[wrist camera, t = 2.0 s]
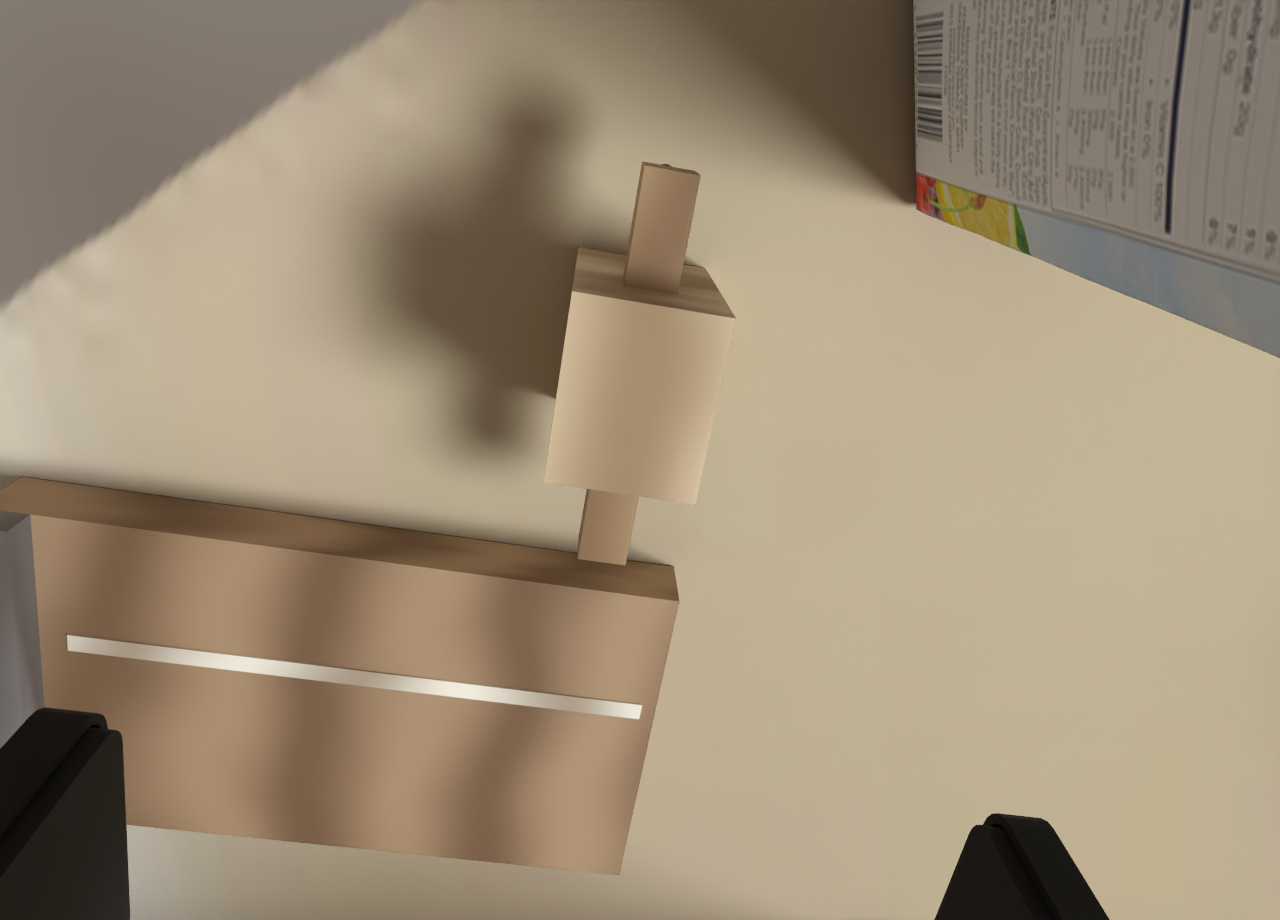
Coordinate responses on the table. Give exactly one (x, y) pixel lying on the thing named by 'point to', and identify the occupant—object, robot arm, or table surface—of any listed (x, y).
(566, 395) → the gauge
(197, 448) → the table surface
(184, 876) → the table surface
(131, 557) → the board
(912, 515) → the table surface
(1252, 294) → the snack box
